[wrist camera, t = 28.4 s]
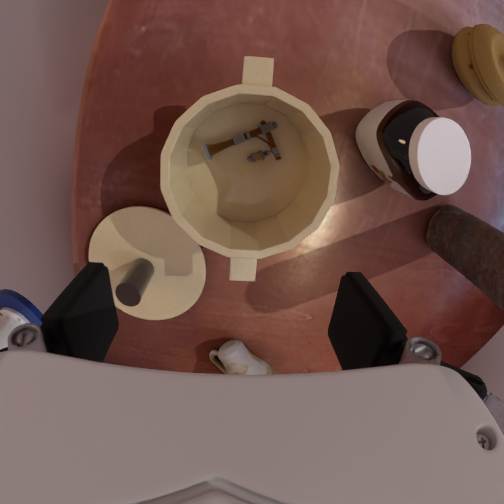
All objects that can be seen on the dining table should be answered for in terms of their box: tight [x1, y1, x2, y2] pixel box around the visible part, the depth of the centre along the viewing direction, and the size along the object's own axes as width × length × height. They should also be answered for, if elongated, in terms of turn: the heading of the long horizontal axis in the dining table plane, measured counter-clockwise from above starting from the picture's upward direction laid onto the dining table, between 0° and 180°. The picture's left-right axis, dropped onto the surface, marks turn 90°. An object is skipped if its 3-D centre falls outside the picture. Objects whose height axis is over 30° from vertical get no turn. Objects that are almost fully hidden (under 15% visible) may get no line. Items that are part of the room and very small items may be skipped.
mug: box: [209, 340, 277, 375], centre depth 39 cm, size 8×10×10 cm
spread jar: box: [355, 99, 471, 200], centre depth 24 cm, size 12×11×12 cm
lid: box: [89, 206, 206, 320], centre depth 31 cm, size 16×16×7 cm
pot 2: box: [452, 24, 504, 106], centre depth 19 cm, size 12×12×10 cm
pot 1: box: [160, 56, 340, 281], centre depth 26 cm, size 15×20×8 cm
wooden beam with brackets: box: [202, 120, 282, 163], centre depth 28 cm, size 2×8×4 cm
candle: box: [427, 204, 504, 311], centre depth 25 cm, size 8×7×20 cm
